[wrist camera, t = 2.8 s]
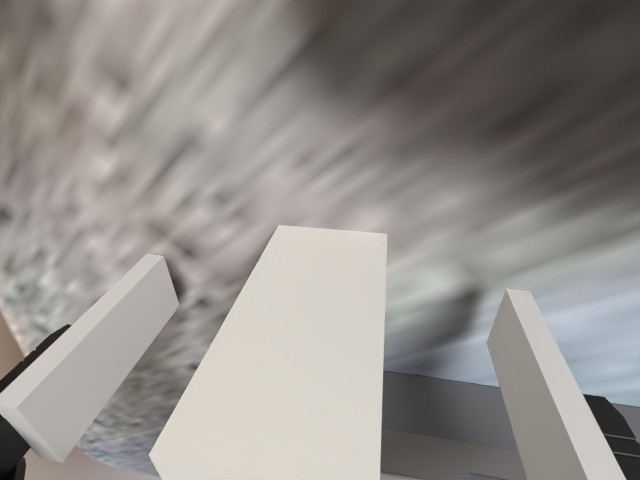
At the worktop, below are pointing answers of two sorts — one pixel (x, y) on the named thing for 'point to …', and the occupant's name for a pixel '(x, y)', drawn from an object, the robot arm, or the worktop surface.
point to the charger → (290, 369)
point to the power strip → (452, 431)
